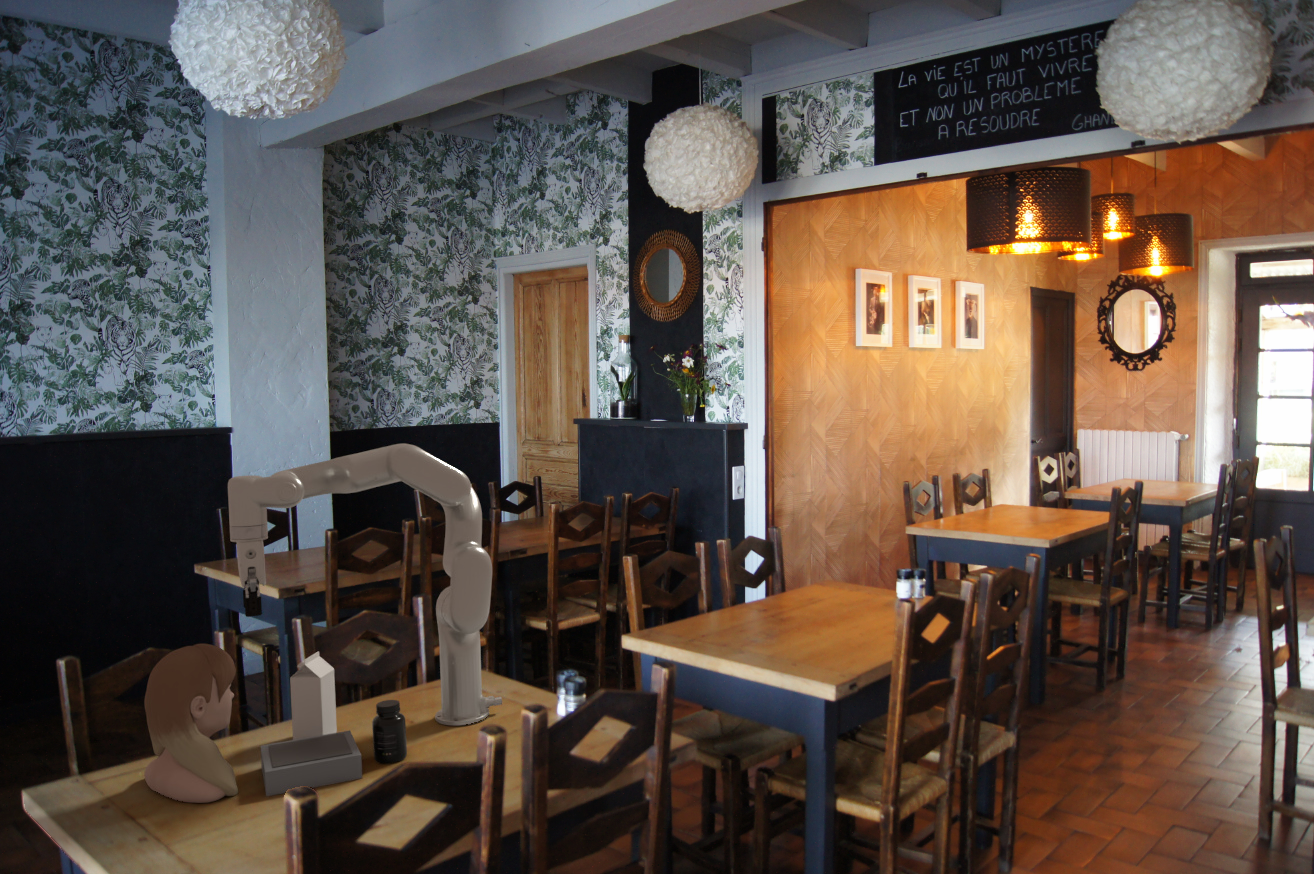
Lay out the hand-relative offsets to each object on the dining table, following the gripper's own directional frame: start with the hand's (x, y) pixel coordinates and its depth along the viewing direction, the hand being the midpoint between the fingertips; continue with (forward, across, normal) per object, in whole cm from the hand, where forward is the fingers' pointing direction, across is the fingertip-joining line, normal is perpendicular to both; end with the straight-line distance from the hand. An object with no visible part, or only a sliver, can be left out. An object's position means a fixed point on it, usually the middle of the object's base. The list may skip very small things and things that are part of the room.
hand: (252, 611), depth 207 cm
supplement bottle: (+31, -18, -25) cm, 44 cm away
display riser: (+31, -18, -9) cm, 37 cm away
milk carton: (+31, +3, -12) cm, 34 cm away
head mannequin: (+31, -13, +12) cm, 36 cm away
